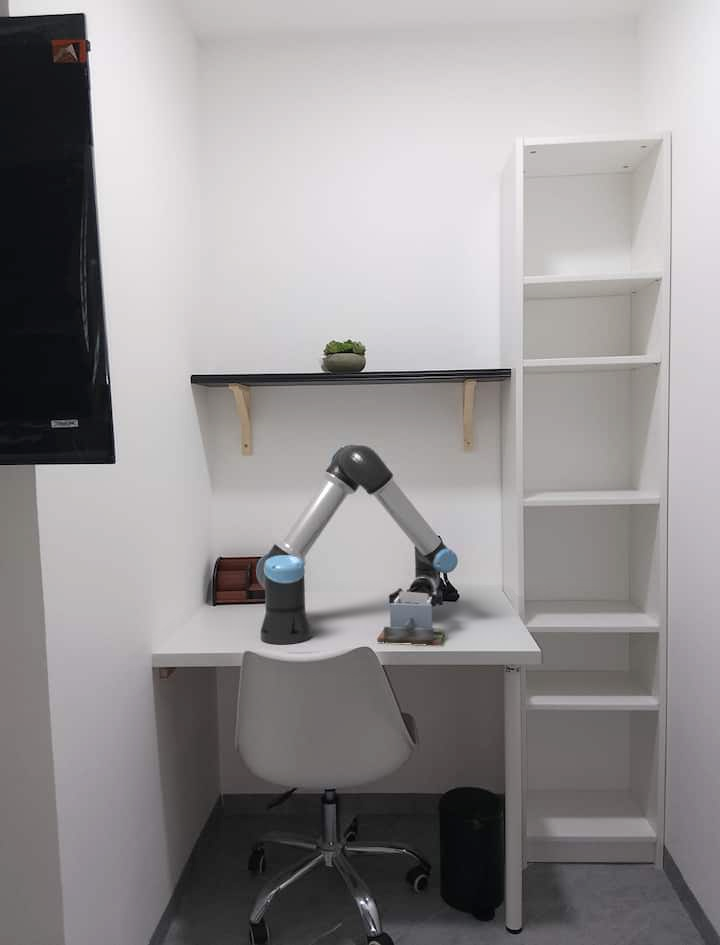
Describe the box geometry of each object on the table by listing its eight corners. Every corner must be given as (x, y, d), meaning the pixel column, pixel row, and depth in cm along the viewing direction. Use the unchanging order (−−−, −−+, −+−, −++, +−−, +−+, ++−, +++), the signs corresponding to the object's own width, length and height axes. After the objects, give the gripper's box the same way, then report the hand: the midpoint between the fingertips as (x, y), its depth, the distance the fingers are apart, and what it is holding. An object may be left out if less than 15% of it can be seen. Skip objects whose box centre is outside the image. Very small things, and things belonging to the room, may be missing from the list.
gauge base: (377, 643, 204) (377, 627, 204) (384, 633, 214) (383, 618, 214) (440, 646, 200) (440, 630, 200) (444, 635, 210) (444, 620, 210)
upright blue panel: (385, 640, 201) (385, 610, 201) (391, 631, 209) (390, 603, 209) (439, 642, 198) (438, 612, 197) (442, 633, 206) (442, 604, 206)
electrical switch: (396, 623, 212) (396, 591, 213) (403, 620, 217) (403, 589, 217) (425, 626, 208) (426, 594, 208) (432, 624, 213) (432, 592, 213)
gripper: (456, 601, 228) (449, 620, 206) (389, 599, 233) (375, 617, 211) (456, 578, 227) (448, 594, 205) (389, 576, 232) (374, 592, 210)
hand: (411, 606), depth 208 cm, fingers closed on electrical switch, 9 cm apart
